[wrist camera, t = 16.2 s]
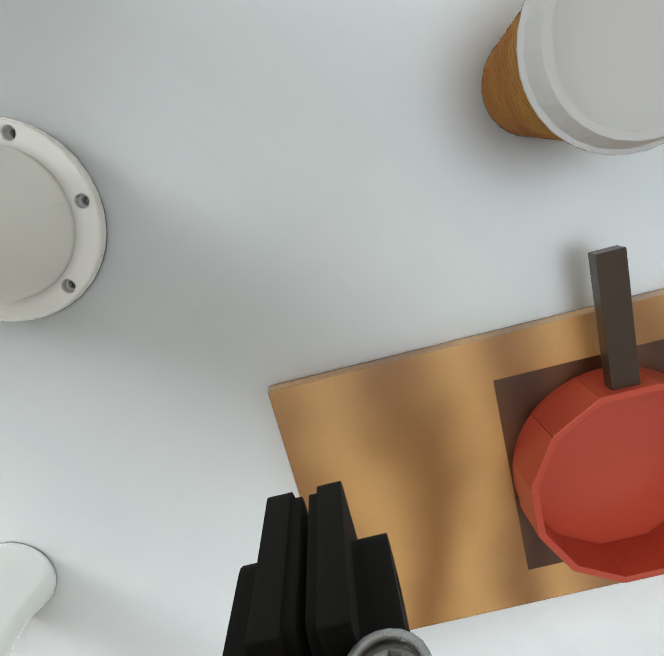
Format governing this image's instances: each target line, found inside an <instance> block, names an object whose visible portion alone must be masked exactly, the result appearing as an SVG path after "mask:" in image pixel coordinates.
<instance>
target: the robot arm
mask: <svg viewBox="0 0 664 656" xmlns="http://www.w3.org/2000/svg"><path fill="white" fill-rule="evenodd" d="M14 130H15V131H16V136H15V137H14V136H13V132H14ZM85 197H88V199H89V204H88V205H87V204H86V203H85V200H84V199H85ZM106 233H107V230H106V222H105V213H104V209H103V206H102V203H101V199H100V196H99V193H98V191H97V189H96V187H95V185H94V183H93V181H92V179H91V177H90V175H89V174H88V172H87V171H86V170H85V168H84V167H83V166H82V164H81V163H80V162H79V160H78V159H77V158H76V157H75V156H74V155H73V154H72V153H71V152H70V151H69V150H68V149H67V148H66V147H65V146H64V145H63V144H61V143H60V142H59V141H57V140H56V139H54V138H53V137H51V136H50V135H48V134H47V133H45V132H44V131H42V130H40V129H38V128H35V127H33V126H31V125H28V124H26V123H24V122H20V121H16V120H12V119H8V118H4V117H0V321H8V322H22V321H29V320H35V319H39V318H42V317H45V316H48V315H50V314H53V313H55V312H57V311H59V310H61V309H63V308H65V307H67V306H68V305H70V304H71V303H72V302H74V301H75V300H76V299H77V298H79V297H80V296H81V295H82V294H83V293H84V292H85V291H86V289H87V288H88V287H89V286H90V284H91V283H92V282H93V280H94V278H95V276H96V274H97V272H98V271H99V269H100V267H101V263H102V260H103V256H104V252H105V247H106ZM72 281H73V282H74V283H75V287H73V286H72V284H71V282H72ZM222 656H431V653H430V651H429V649H428V648H427V646H426V645H425V643H424V642H423V640H422V639H420V638H419V637H418V636H416V635H415V634H414V633H411V632H410V628H409V623H408V618H407V614H406V609H405V604H404V599H403V595H402V590H401V586H400V582H399V577H398V573H397V569H396V565H395V561H394V557H393V554H392V550H391V546H390V542H389V539H388V535H387V533H383V534H378V535H374V536H370V537H366V538H361V539H357V535H356V532H355V528H354V524H353V521H352V517H351V514H350V510H349V506H348V503H347V499H346V496H345V492H344V489H343V485H342V483H341V481H337V482H333V483H329V484H324V485H320V486H317V493H315V494H311V495H309V507H308V511H307V507H306V504H305V501H304V499H303V497H298V498H295V496H294V494H293V493H292V492H291V493H287V494H282V495H278V496H274V497H270V498H268V499H267V504H266V511H265V517H264V523H263V529H262V536H261V542H260V548H259V555H258V561H257V563H254V564H250V565H246V566H243V567H242V568H241V569H240V572H239V576H238V581H237V586H236V591H235V596H234V601H233V606H232V611H231V616H230V621H229V626H228V631H227V636H226V641H225V646H224V651H223V655H222Z"/></svg>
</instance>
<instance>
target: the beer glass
mask: <svg viewBox="0 0 664 656" xmlns="http://www.w3.org/2000/svg"><path fill="white" fill-rule="evenodd" d="M55 587H56V573H55V570H54V568H53V566H52V564H51V562H50V561H49V560H48V559H47V558H46V556H44V555H43V554H42V553H41V552H39V551H38V550H36V549H34V548H32V547H30V546H27V545H24V544H20V543H2V544H0V656H10V655H11V653H12V650H13V648H14V646H15V644H16V642H17V640H18V637H19V636H20V634H21V632H22V630H23V629H24V627H25V626H26V624H27V623H28V622H29V621H30V619H31V618H32V617H33V616H34V615H35V614H36V613H37V612H38V611H39V610H40V609H41V608H42V607H43V606H44V605H45V604H46V602H47V601H48V600H49V599H50V598H51V596H52V595H53V593H54V590H55Z"/></svg>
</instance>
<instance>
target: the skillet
mask: <svg viewBox="0 0 664 656" xmlns="http://www.w3.org/2000/svg"><path fill="white" fill-rule="evenodd" d="M588 258H589V266H590V274H591V282H592V290H593V298H594V306H595V314H596V322H597V330H598V338H599V346H600V354H601V362H602V368H600V369H596V370H593V371H589V372H586V373H584V374H581V375H579V376H577V377H574V378H572V379H570V380H569V381H567V382H565V383H564V384H562V385H560V386H559V387H558V388H556V389H555V390H554V391H552V392H551V393H550V394H548V395H547V396H546V397H545V398H544V399H543V400H542V401H541V402H540V403H539V404H538V405H537V407H536V408H535V409H534V410H533V411H532V413H531V414H530V416H529V417H528V419H527V420H526V422H525V423H524V425H523V427H522V429H521V432H520V434H519V436H518V439H517V442H516V445H515V450H514V455H513V468H512V470H513V480H514V484H515V488H516V492H517V494H518V496H519V501H520V507H521V509H522V510H523V512H524V514H525V515H526V517H527V518H528V520H529V522H530V523H531V525H532V526H533V528H534V530H535V531H536V533H537V534H538V536H539V538H540V539H541V540H542V541H543V542H544V543H545V544H546V545H547V546H548V547H549V548H550V549H551V550H552V551H553V552H554V553H556V554H557V555H558V556H559V557H560V558H561V559H562V560H563V561H564V562H565V563H566V564H567V565H568V566H569V567H570V568H571V569H572V570H573V571H575V572H579V573H584V574H588V575H592V576H597V577H601V578H605V579H610V580H614V581H618V582H622V583H624V582H625V583H626V582H631V581H635V580H640V579H644V578H649V577H653V576H658V575H662V574H664V374H663V373H661V372H658V371H655V370H652V369H648V368H644V367H639V364H638V354H637V345H636V335H635V326H634V316H633V307H632V297H631V288H630V278H629V269H628V259H627V250H626V247H622V246H618V245H616V246H612V247H608V248H604V249H600V250H596V251H592V252H589V253H588Z"/></svg>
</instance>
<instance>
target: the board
mask: <svg viewBox="0 0 664 656" xmlns="http://www.w3.org/2000/svg"><path fill="white" fill-rule="evenodd" d="M632 307H633V316H634V326H635V335H636V345H637V354H638V364H639V367H644V368H648V369H652V370H655V371H658V372H661V373H663V374H664V289H660V290H656V291H652V292H648V293H644V294H640V295H636V296H632ZM600 368H602V362H601V354H600V346H599V338H598V330H597V322H596V314H595V306H592V307H588V308H584V309H580V310H576V311H572V312H568V313H564V314H560V315H555V316H551V317H547V318H543V319H539V320H535V321H531V322H527V323H523V324H519V325H515V326H511V327H507V328H503V329H499V330H495V331H491V332H487V333H483V334H479V335H475V336H471V337H467V338H463V339H459V340H455V341H451V342H447V343H443V344H439V345H435V346H431V347H427V348H422V349H418V350H414V351H410V352H406V353H402V354H398V355H394V356H390V357H386V358H382V359H378V360H374V361H370V362H366V363H362V364H358V365H354V366H350V367H346V368H342V369H338V370H334V371H330V372H326V373H322V374H318V375H314V376H310V377H306V378H302V379H298V380H293V381H289V382H285V383H281V384H277V385H273V386H270V387H269V392H268V394H269V397H270V401H271V404H272V407H273V410H274V414H275V417H276V420H277V423H278V427H279V430H280V433H281V436H282V440H283V443H284V446H285V449H286V453H287V456H288V459H289V462H290V466H291V469H292V472H293V475H294V479H295V482H296V485H297V488H298V492H299V495H300V497H303V499H304V501H305V504H306V507H307V511H308V507H309V495H311V494H315V493H317V486H320V485H324V484H329V483H333V482H337V481H341V483H342V485H343V489H344V492H345V496H346V499H347V503H348V506H349V510H350V514H351V517H352V521H353V524H354V528H355V532H356V535H357V539H361V538H366V537H370V536H374V535H378V534H383V533H387V535H388V539H389V542H390V546H391V550H392V554H393V557H394V561H395V565H396V569H397V573H398V577H399V582H400V586H401V590H402V595H403V599H404V604H405V609H406V614H407V618H408V623H409V628H410V630H412V629H417V628H421V627H426V626H430V625H434V624H439V623H443V622H448V621H452V620H457V619H461V618H466V617H470V616H474V615H479V614H483V613H488V612H492V611H497V610H501V609H506V608H510V607H514V606H519V605H523V604H528V603H532V602H537V601H541V600H546V599H550V598H554V597H559V596H563V595H568V594H572V593H577V592H581V591H586V590H590V589H594V588H599V587H603V586H608V585H612V584H617V583H621V582H618V581H614V580H610V579H605V578H601V577H597V576H592V575H588V574H584V573H579V572H575V571H573V570H572V569H571V568H570V567H569V566H568V565H567V564H566V563H565V562H564V561H563V560H562V559H561V558H560V557H559V556H558V555H557V554H556V553H554V552H553V551H552V550H551V549H550V548H549V547H548V546H547V545H546V544H545V543H544V542H543V541H542V540H541V539H540V538H539V536H538V534H537V533H536V531H535V530H534V528H533V526H532V525H531V523H530V522H529V520H528V518H527V517H526V515H525V514H524V512H523V510H522V509H521V507H520V501H519V496H518V494H517V492H516V488H515V484H514V480H513V470H512V468H513V455H514V450H515V445H516V442H517V439H518V436H519V434H520V432H521V429H522V427H523V425H524V423H525V422H526V420H527V419H528V417H529V416H530V414H531V413H532V411H533V410H534V409H535V408H536V407H537V405H538V404H539V403H540V402H541V401H542V400H543V399H544V398H545V397H546V396H547V395H548V394H550V393H551V392H552V391H554V390H555V389H556V388H558V387H559V386H560V385H562V384H564V383H565V382H567V381H569V380H570V379H572V378H574V377H577V376H579V375H581V374H584V373H586V372H589V371H593V370H596V369H600Z"/></svg>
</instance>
